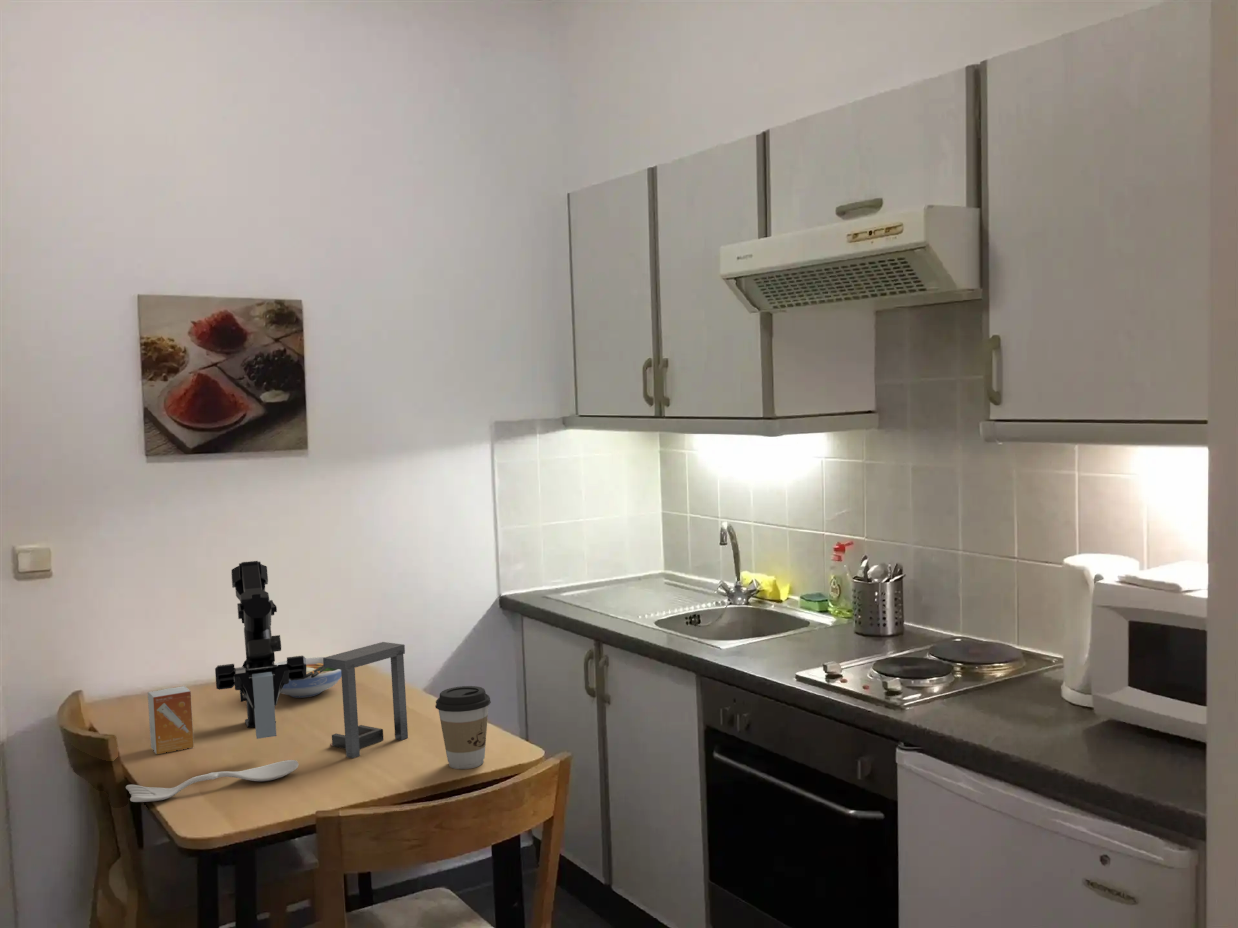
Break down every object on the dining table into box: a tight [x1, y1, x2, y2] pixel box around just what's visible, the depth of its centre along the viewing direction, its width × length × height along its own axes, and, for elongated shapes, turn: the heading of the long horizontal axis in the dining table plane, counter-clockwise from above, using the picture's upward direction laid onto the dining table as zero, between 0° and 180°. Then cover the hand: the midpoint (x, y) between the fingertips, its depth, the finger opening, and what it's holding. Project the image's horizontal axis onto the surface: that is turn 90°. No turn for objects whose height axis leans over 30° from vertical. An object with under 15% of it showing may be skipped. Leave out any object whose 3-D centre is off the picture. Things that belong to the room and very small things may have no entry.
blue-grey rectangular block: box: [252, 672, 277, 740], centre depth 234 cm, size 4×4×13 cm
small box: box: [147, 685, 195, 755], centre depth 245 cm, size 8×6×13 cm
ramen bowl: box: [273, 656, 342, 699], centre depth 289 cm, size 25×23×8 cm
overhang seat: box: [323, 641, 409, 759], centre depth 242 cm, size 12×17×21 cm
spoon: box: [125, 759, 299, 803], centre depth 217 cm, size 9×32×4 cm, turn 120°
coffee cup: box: [435, 685, 492, 770], centre depth 225 cm, size 11×11×15 cm
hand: (264, 705), depth 233 cm, fingers closed on blue-grey rectangular block, 4 cm apart
